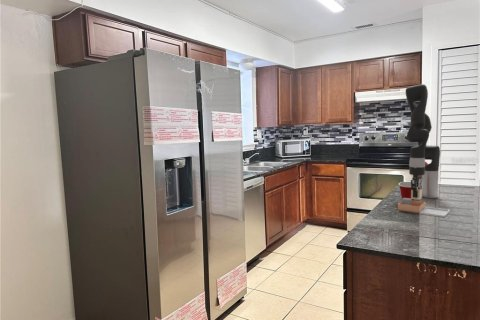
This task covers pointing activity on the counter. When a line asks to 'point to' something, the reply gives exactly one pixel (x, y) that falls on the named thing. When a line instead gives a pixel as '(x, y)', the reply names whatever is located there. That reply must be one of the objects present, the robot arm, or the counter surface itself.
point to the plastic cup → (405, 189)
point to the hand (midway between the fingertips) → (416, 196)
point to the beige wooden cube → (418, 194)
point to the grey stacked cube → (407, 201)
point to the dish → (412, 207)
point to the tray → (435, 211)
